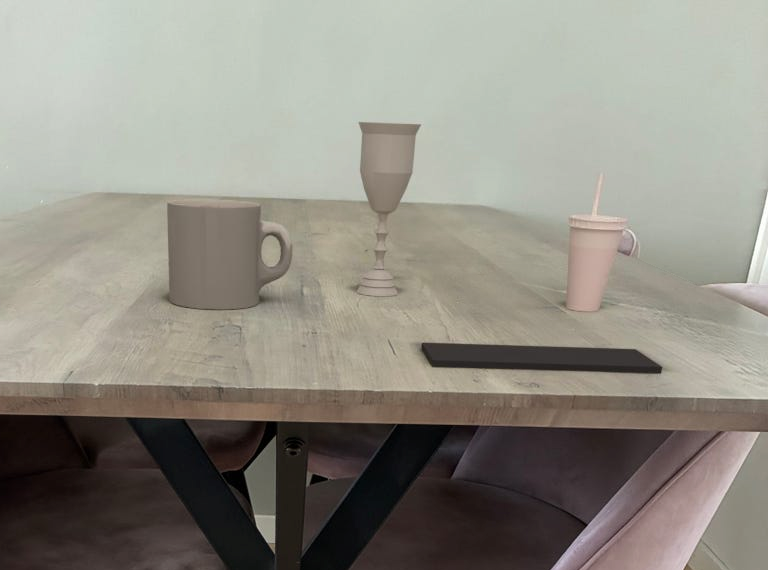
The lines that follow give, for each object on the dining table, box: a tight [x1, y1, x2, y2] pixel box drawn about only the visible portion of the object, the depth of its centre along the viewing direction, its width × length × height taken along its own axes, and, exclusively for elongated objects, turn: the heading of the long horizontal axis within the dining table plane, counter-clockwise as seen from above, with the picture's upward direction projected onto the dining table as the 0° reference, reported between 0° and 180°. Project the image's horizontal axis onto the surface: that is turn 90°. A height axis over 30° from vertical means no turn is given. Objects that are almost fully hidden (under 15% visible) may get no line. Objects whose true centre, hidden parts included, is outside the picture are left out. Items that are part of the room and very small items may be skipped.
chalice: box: [355, 121, 422, 297], centre depth 111 cm, size 7×7×18 cm
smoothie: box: [565, 173, 629, 313], centre depth 106 cm, size 6×6×14 cm
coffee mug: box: [166, 198, 293, 311], centre depth 104 cm, size 13×10×10 cm
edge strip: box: [420, 342, 663, 375], centre depth 85 cm, size 20×7×1 cm, turn 91°
